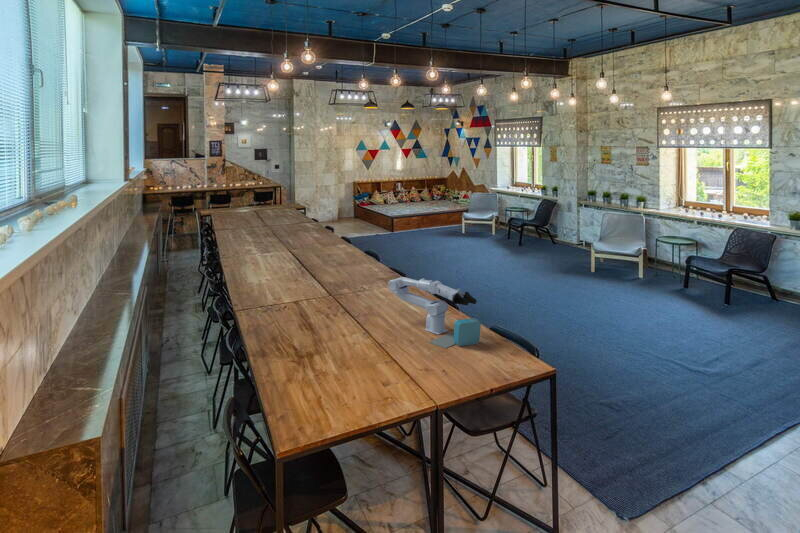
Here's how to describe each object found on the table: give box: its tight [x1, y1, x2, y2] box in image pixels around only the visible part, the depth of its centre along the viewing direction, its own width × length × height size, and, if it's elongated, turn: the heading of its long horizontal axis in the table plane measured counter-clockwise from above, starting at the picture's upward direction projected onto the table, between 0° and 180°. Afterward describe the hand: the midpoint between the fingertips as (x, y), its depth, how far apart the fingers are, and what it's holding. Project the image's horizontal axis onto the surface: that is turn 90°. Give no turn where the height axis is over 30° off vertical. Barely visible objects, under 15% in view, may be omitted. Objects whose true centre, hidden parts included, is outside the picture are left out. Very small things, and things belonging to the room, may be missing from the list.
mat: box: [428, 331, 457, 349], centre depth 251 cm, size 11×24×1 cm, turn 136°
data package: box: [453, 317, 482, 347], centre depth 243 cm, size 12×4×12 cm, turn 111°
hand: (472, 302), depth 244 cm, fingers open, 7 cm apart
